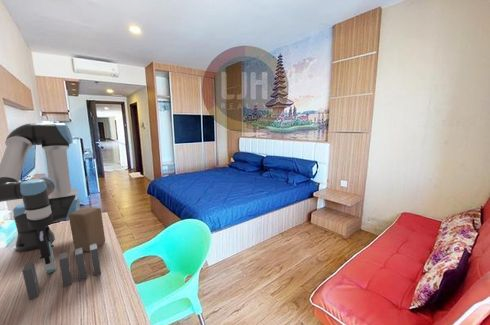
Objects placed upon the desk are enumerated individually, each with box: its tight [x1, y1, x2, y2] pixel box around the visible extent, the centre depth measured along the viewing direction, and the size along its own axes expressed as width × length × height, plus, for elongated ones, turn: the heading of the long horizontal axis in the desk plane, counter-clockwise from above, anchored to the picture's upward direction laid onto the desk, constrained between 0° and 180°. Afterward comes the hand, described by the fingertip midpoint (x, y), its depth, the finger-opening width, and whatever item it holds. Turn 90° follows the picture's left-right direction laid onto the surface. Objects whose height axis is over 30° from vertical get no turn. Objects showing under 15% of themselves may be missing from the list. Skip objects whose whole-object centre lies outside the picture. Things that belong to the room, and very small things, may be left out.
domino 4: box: [74, 248, 88, 282], centre depth 91 cm, size 5×2×12 cm, turn 38°
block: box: [68, 206, 106, 253], centre depth 112 cm, size 10×10×20 cm
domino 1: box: [22, 261, 40, 301], centre depth 82 cm, size 5×2×12 cm, turn 38°
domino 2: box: [45, 241, 56, 274], centre depth 94 cm, size 5×2×12 cm, turn 38°
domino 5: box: [90, 244, 102, 277], centre depth 94 cm, size 5×2×12 cm, turn 38°
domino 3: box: [58, 251, 73, 288], centre depth 88 cm, size 5×2×12 cm, turn 38°
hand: (50, 265), depth 95 cm, fingers closed on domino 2, 5 cm apart
